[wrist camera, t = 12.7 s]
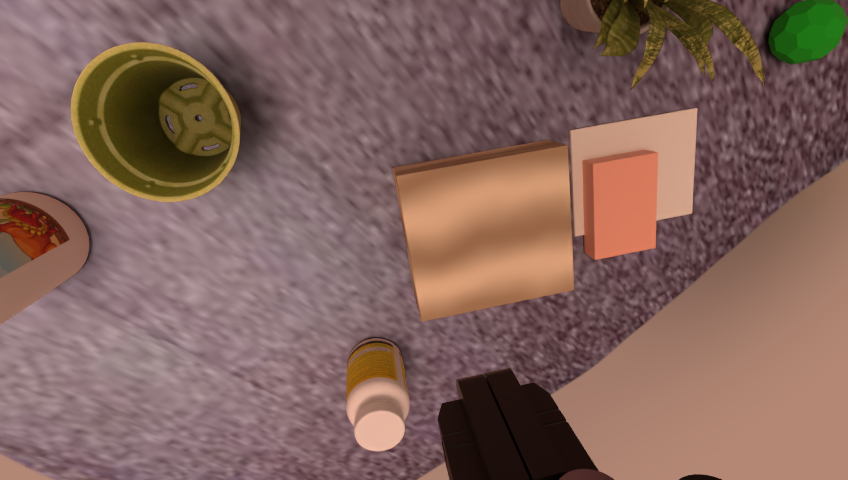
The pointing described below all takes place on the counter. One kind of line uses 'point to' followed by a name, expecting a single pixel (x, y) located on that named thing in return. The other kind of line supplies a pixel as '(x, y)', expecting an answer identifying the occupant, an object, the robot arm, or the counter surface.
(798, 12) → the polyhedron
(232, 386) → the counter surface
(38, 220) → the milk bottle
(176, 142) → the plant pot
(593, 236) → the salmon orange flat block
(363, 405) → the supplement bottle
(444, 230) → the wooden block
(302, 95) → the counter surface
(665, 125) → the mat
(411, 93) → the counter surface
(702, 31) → the house plant
